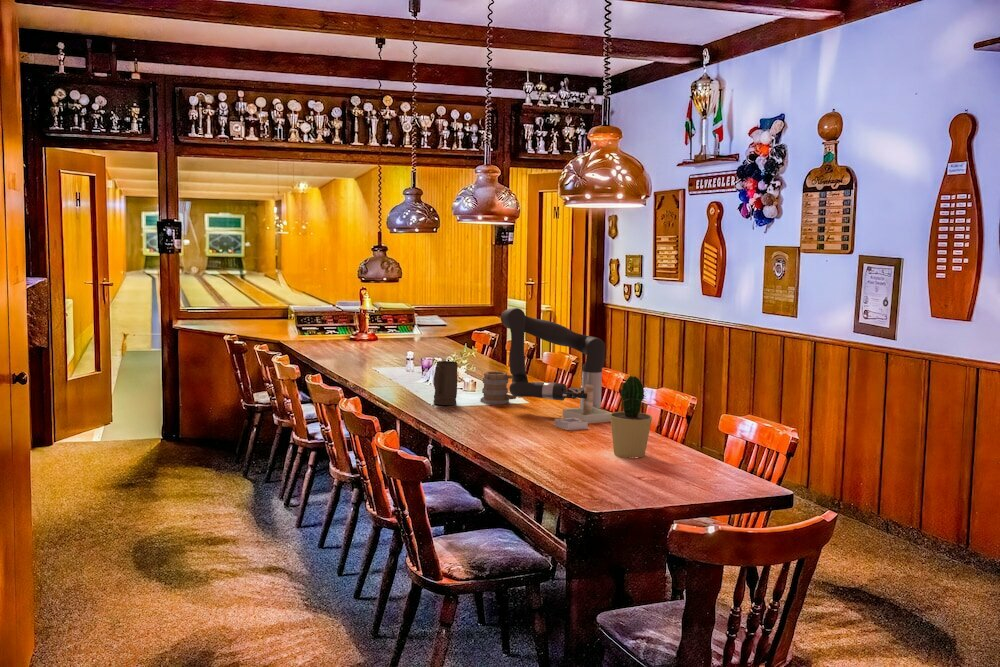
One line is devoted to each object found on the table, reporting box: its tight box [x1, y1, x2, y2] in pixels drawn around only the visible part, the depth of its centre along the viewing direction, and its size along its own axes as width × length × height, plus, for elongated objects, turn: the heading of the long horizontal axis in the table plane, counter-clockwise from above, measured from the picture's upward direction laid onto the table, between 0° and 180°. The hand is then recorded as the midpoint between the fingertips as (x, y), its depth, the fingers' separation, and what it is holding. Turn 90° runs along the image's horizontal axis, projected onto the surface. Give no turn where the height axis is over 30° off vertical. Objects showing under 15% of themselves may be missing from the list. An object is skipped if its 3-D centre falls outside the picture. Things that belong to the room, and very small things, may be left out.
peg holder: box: [554, 417, 589, 431], centre depth 391 cm, size 10×10×3 cm
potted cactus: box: [610, 374, 653, 459], centre depth 344 cm, size 15×15×30 cm
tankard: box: [480, 370, 518, 405], centre depth 442 cm, size 20×13×15 cm, turn 73°
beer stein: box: [432, 360, 459, 406], centre depth 431 cm, size 15×11×20 cm
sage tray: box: [562, 407, 612, 424], centre depth 409 cm, size 16×16×4 cm
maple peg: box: [583, 385, 594, 415], centre depth 409 cm, size 4×4×14 cm
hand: (589, 394), depth 408 cm, fingers open, 8 cm apart
